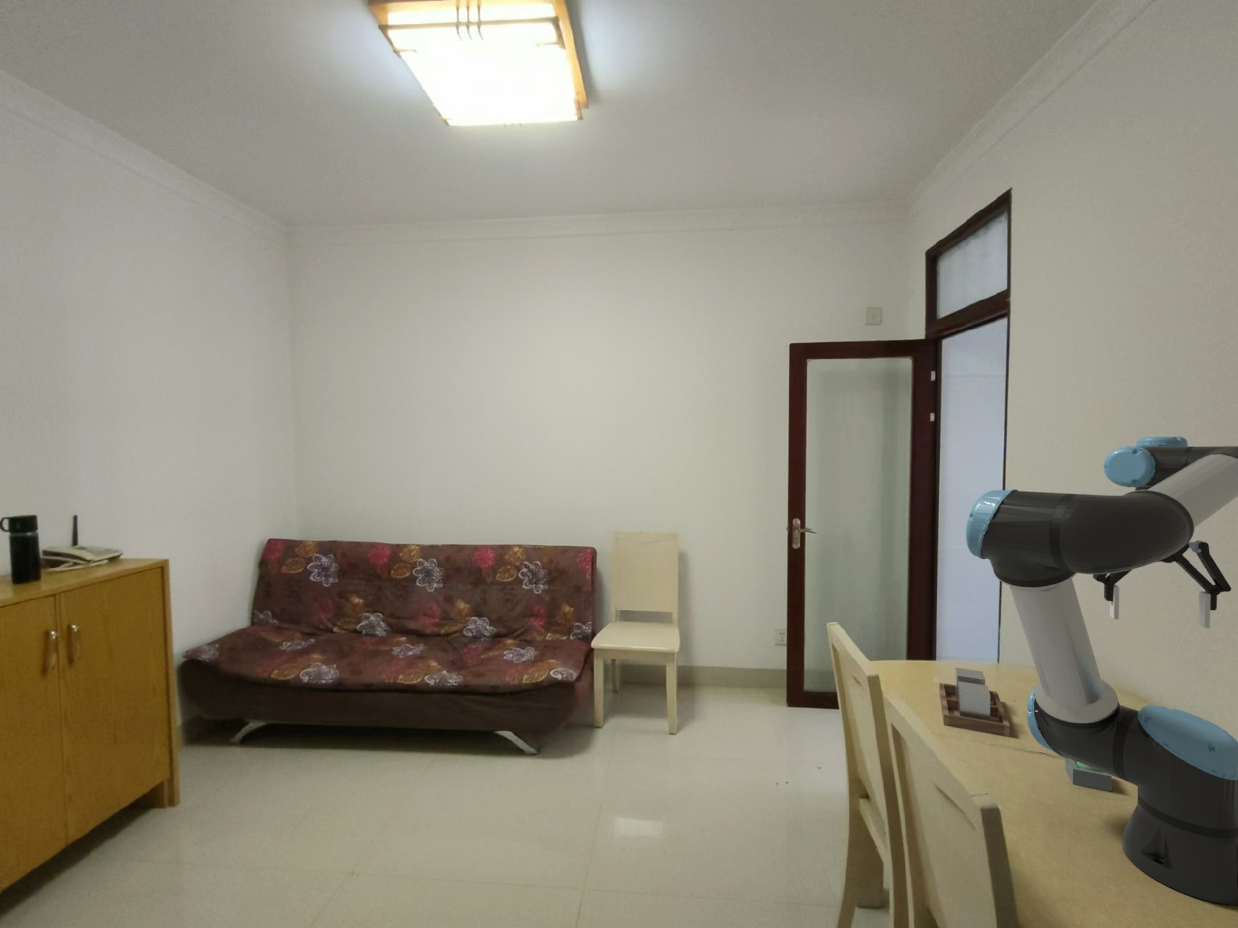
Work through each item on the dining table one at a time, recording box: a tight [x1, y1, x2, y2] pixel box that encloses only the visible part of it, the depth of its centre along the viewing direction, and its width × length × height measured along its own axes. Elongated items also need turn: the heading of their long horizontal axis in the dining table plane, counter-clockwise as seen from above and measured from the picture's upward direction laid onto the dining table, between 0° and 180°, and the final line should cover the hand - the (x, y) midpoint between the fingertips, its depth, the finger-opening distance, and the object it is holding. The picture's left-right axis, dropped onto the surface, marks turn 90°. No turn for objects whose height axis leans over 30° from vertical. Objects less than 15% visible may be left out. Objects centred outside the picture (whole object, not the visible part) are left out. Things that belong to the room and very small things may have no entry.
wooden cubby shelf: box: [938, 682, 1011, 738], centre depth 144 cm, size 21×13×4 cm, turn 154°
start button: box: [1076, 761, 1100, 772], centre depth 116 cm, size 4×4×4 cm
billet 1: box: [954, 667, 986, 700], centre depth 148 cm, size 6×6×8 cm
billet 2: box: [958, 681, 990, 721], centre depth 139 cm, size 6×6×8 cm
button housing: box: [1064, 758, 1113, 792], centre depth 116 cm, size 6×6×3 cm
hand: (1157, 621), depth 115 cm, fingers open, 13 cm apart
